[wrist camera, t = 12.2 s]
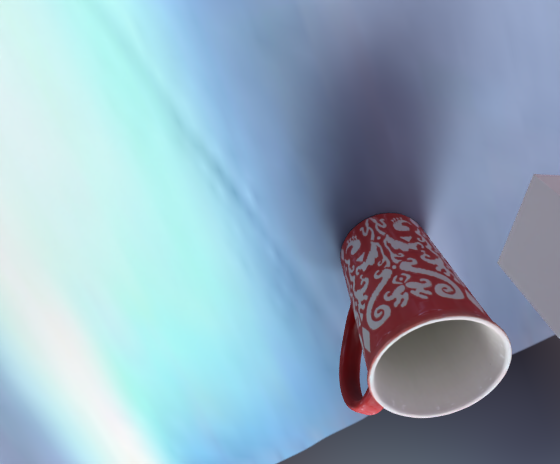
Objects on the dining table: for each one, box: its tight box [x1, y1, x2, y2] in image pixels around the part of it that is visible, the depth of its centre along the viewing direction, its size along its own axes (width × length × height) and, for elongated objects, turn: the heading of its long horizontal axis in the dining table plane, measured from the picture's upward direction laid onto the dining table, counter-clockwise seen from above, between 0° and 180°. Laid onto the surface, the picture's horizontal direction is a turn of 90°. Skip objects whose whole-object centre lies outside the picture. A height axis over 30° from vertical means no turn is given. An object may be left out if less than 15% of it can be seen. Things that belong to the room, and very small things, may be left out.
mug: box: [339, 213, 512, 418], centre depth 38 cm, size 13×9×14 cm
